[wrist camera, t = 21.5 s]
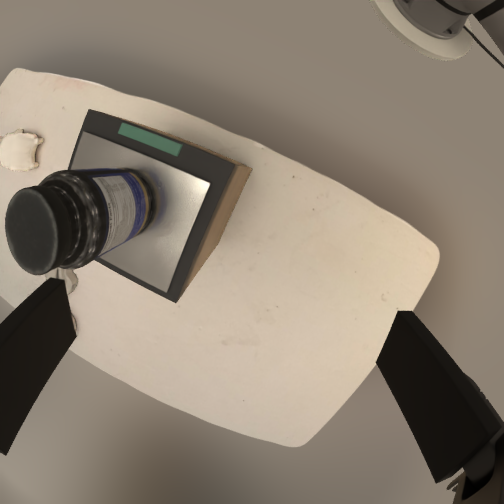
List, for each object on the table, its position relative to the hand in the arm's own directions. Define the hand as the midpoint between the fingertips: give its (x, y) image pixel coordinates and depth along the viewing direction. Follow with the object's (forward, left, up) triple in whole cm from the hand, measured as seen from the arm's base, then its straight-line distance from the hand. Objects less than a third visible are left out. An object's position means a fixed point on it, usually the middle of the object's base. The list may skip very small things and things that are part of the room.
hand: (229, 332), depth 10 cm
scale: (+11, +1, -16) cm, 19 cm away
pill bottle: (+11, +1, -13) cm, 17 cm away
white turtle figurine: (+51, +7, -35) cm, 63 cm away
